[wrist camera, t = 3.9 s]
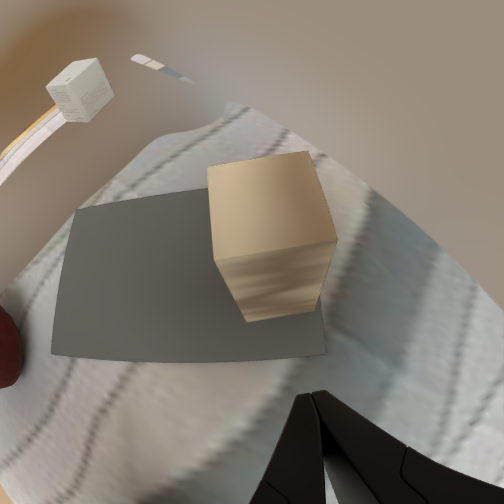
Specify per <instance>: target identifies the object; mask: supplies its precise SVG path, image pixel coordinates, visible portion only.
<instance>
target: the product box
mask: <svg viewBox="0 0 504 504" xmlns="http://www.w3.org/2000/svg"><path fill="white" fill-rule="evenodd" d="M46 89H47V90H48V92H49V93H50V95H51V97H52V98H53V100H54V101H55V103H56V105H57V106H58V108H59V109H60V111H61V112H62V114H63V116H64V117H65V119H66V120H67V121H68V122H86V123H89V122H90V121H91V120H92V119H93V118H94V117H95V116H96V115H97V114H98V113H99V112H100V111H101V110H102V109H103V108H104V107H105V106H106V105H107V104H108V103H109V102H110V101H111V100H112V99H113V98H114V97H115V94H114V92H113V90H112V88H111V86H110V84H109V82H108V80H107V78H106V76H105V73H104V71H103V70H102V67H101V65H100V63H99V61H98V59H97V58H92V59H86V60H80V61H74V62H72V63H71V64H70V65H69V66H68V67H66V68H65V69H64V70H63V71H62V72H61V73H60V74H59V75H57V77H55V78H54V79H53V80H52V81H51V82H50V83H49V84H48V85H47V86H46Z"/></svg>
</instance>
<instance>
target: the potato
mask: <svg viewBox="0 0 504 504" xmlns="http://www.w3.org/2000/svg"><path fill="white" fill-rule="evenodd" d="M22 358H23V356H22V343H21V338H20V334H19V332H18V330H17V328H16V325H15V323H14V321H13V319H12V317H11V316H10V315H9V314H8V313H7V312H6V311H5V310H4V309H3V308H2V307H1V306H0V389H1V388H5V387H9V386H11V385H13V384H14V383H15V382H16V381H17V379H18V377H19V375H20V372H21V369H22Z"/></svg>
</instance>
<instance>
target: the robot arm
mask: <svg viewBox="0 0 504 504" xmlns="http://www.w3.org/2000/svg"><path fill="white" fill-rule="evenodd" d="M324 466H325V469H326V471H327V474H328V477H329V479H330V482H331V484H332V487H333V490H334V492H335V495H336V498H337V500H338V503H339V504H504V488H501V487H498V486H495V485H492V484H489V483H487V482H484V481H481V480H478V479H476V478H473V477H470V476H468V475H465V474H463V473H460V472H458V471H455V470H453V469H450V468H448V467H446V466H444V465H442V464H439V463H437V462H435V461H433V460H431V459H430V458H428V457H426V456H424V455H423V454H421V453H419V452H417V451H416V450H414V449H413V448H411V447H409V446H408V447H407V445H405V444H404V443H402V442H401V441H399V440H398V439H396V438H395V437H393V436H391V435H390V434H388V433H387V432H385V431H384V430H382V429H381V428H379V427H378V426H376V425H375V424H373V423H372V422H370V421H369V420H367V419H366V418H365V417H363V416H362V415H360V414H359V413H357V412H356V411H354V410H353V409H352V408H350V407H349V406H347V405H346V404H344V403H343V402H342V401H340V400H339V399H337V398H336V397H335V396H333V395H332V394H330V393H329V392H328V391H326V390H320V391H315V392H312V394H310V393H305V394H299V395H297V396H296V397H295V400H294V403H293V405H292V408H291V410H290V413H289V416H288V418H287V421H286V423H285V426H284V428H283V431H282V433H281V435H280V438H279V440H278V443H277V445H276V447H275V450H274V452H273V454H272V457H271V459H270V461H269V463H268V466H267V468H266V470H265V472H264V474H263V477H262V480H261V481H260V482H259V484H258V487H257V489H256V491H255V493H254V494H253V496H252V498H251V500H250V502H249V504H326V495H325V476H324Z"/></svg>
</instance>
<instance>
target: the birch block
mask: <svg viewBox="0 0 504 504" xmlns="http://www.w3.org/2000/svg"><path fill="white" fill-rule="evenodd" d="M207 177H208V191H209V205H210V219H211V231H212V243H213V254H214V261H215V263H216V265H217V267H218V269H219V271H220V273H221V275H222V277H223V279H224V280H225V282H226V284H227V286H228V288H229V290H230V292H231V294H232V296H233V298H234V299H235V301H236V303H237V305H238V307H239V309H240V311H241V313H242V314H243V316H244V318H245V320H246V322H253V321H259V320H265V319H271V318H277V317H283V316H289V315H294V314H300V313H305V312H310V311H314V309H315V306H316V303H317V301H318V298H319V295H320V292H321V289H322V286H323V283H324V280H325V277H326V274H327V271H328V268H329V265H330V262H331V259H332V256H333V253H334V250H335V247H336V243H337V240H338V238H337V235H336V232H335V228H334V225H333V222H332V219H331V215H330V212H329V209H328V206H327V203H326V200H325V197H324V194H323V191H322V188H321V185H320V182H319V179H318V176H317V173H316V171H315V168H314V165H313V162H312V159H311V157H310V154H309V151H303V152H295V153H288V154H281V155H274V156H267V157H261V158H255V159H249V160H243V161H237V162H232V163H226V164H221V165H216V166H211V167H207Z"/></svg>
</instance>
